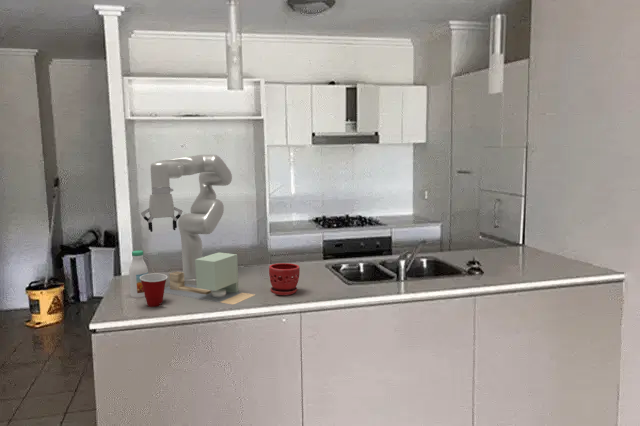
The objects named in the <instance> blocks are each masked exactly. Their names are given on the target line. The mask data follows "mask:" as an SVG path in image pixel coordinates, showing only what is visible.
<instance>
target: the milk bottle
mask: <svg viewBox="0 0 640 426" xmlns="http://www.w3.org/2000/svg"><path fill="white" fill-rule="evenodd" d="M131 258H132V261H131V263H130V266H129V275H128V277H129V288H130V289H129V292H130V293H129V294H130V297H131V298H145V294H144V289H143V285H142V282H141V280H140V276H142V275H145V274H149V270H148V266H147V264H146V262H145V260H144V250H141V249H140V250H139V249H138V250H133V251H131Z"/></svg>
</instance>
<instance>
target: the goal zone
mask: <svg viewBox="0 0 640 426" xmlns="http://www.w3.org/2000/svg"><path fill="white" fill-rule="evenodd" d="M252 297H255V293H248V292H241V293H240V294H238V295H236V296H233V297H231V298H229V299H226V300H224V301H221V302H220V303H222V304H228V305H231V306H232V305H236V304H238V303H240V302H243V301H245V300H247V299H250V298H252Z"/></svg>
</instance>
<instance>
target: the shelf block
mask: <svg viewBox="0 0 640 426" xmlns="http://www.w3.org/2000/svg"><path fill="white" fill-rule="evenodd" d="M238 264H239V263H238V254H236V253H235V254H234V253H229V252H227V253H226V252H215V253H211V254H208V255H206V256H203V257H202V258H198V259H195V265H196V280H195V281H196V284H195V285H196V286H197V288H201V289H208V290H214V291H216V290H219V289H226V291H227V292H234V293H238V292H240V291H239V289H240V288H239V269H238V266H239V265H238Z"/></svg>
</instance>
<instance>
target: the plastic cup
mask: <svg viewBox="0 0 640 426" xmlns="http://www.w3.org/2000/svg"><path fill="white" fill-rule="evenodd" d="M167 279H168V275H167V274H164V273H157V272H156V273H155V272H154V273H148V274H145V275H142V276H140V280H141V282H142V285H143V289H144V294H145V297H144V298H145V302H146V304H147V307H150V308H152V307H153V308H154V307H160V306H162V305H163V304H162V303H163V302H164V296H165V295H164V294H165V293H164V289H165V288H166V282H167Z"/></svg>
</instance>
